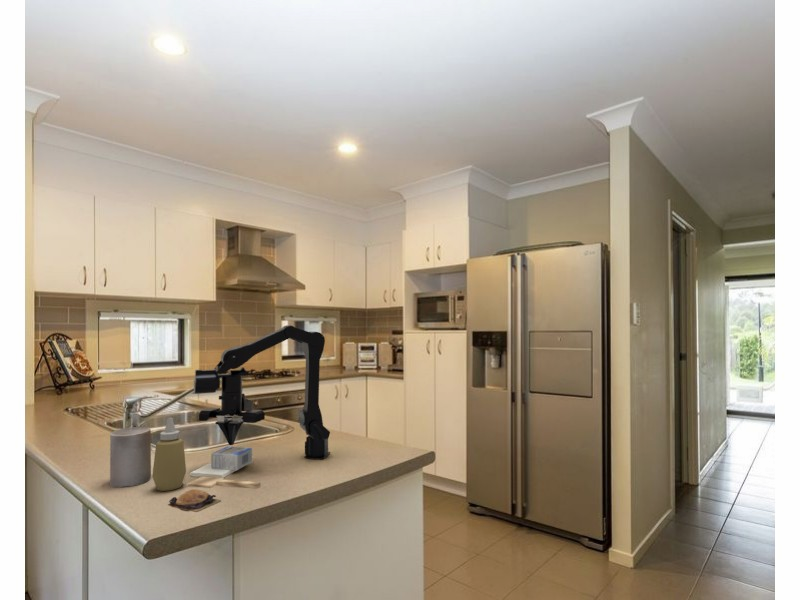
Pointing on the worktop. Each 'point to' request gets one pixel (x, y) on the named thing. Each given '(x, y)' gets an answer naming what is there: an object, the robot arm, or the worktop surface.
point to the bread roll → (194, 501)
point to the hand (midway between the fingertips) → (231, 444)
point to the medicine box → (231, 458)
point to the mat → (211, 472)
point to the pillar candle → (130, 456)
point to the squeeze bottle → (169, 459)
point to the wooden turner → (221, 483)
